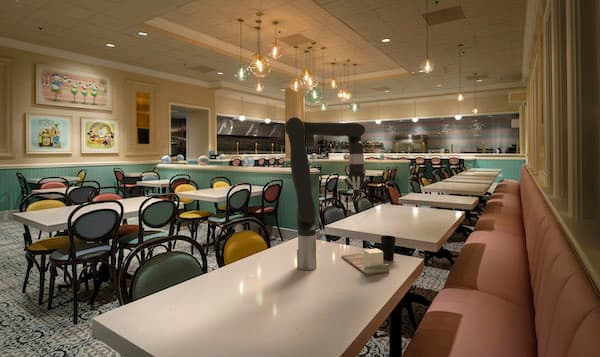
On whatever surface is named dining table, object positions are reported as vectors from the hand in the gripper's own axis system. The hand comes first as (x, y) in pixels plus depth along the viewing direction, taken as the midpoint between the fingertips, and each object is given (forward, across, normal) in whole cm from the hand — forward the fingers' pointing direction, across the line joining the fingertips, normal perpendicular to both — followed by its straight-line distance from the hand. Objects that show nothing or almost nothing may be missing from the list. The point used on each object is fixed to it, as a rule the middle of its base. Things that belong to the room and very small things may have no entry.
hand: (356, 196), depth 177 cm
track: (+35, +4, -1) cm, 35 cm away
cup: (+35, +16, +10) cm, 40 cm away
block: (+34, +9, -10) cm, 36 cm away
